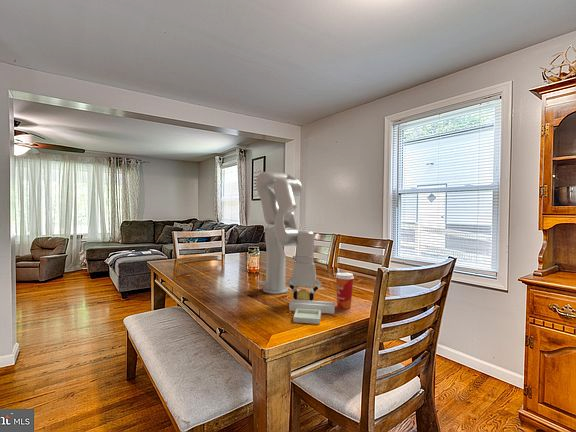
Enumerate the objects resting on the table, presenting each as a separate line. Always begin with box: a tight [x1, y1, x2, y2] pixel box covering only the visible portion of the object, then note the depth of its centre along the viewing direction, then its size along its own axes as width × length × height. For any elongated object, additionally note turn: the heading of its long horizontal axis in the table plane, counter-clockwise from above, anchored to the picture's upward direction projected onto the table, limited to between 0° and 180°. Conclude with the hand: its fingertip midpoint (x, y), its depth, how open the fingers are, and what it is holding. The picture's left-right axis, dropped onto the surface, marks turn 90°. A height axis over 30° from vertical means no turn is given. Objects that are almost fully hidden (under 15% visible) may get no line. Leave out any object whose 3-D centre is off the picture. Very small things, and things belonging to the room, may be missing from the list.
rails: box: [288, 298, 336, 315], centre depth 122 cm, size 18×5×3 cm, turn 81°
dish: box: [292, 308, 322, 325], centre depth 113 cm, size 10×10×2 cm
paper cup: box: [335, 272, 355, 310], centre depth 126 cm, size 8×8×14 cm
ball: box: [297, 288, 310, 300], centre depth 130 cm, size 6×6×6 cm
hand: (303, 300), depth 130 cm, fingers closed on ball, 5 cm apart
